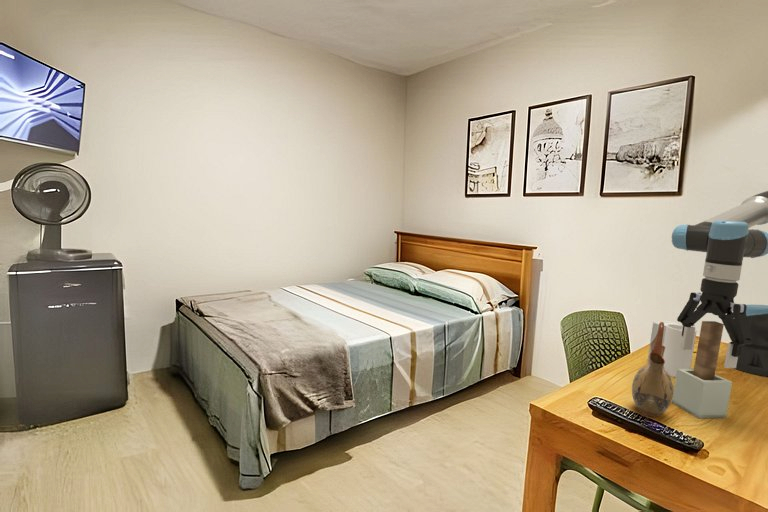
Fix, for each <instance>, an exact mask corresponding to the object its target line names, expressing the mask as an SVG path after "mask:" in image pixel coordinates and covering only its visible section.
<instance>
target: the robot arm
mask: <svg viewBox="0 0 768 512" xmlns="http://www.w3.org/2000/svg"><path fill="white" fill-rule="evenodd" d="M766 224H768V190H766V191H763V192H760V193H757V194H755V195H753V196H750V197H748V198H745V199H744V200H743V201H742V203H740V204H739V205H738V206H737V205H736V207H733V208H730V209H729V210H726V211H724V212H721V213H720V214H717V215H715V216H713V217H710V218H708V219H706V220H703V221H701V222H699V223H697V224H693V225H692V224H688V223H687V224H679V225H677V226H676V227H675V228H674V229H673V230H672V234H671V243H672V245H673V247H674V248H675V249H679V250H685V251H690V252H691V251H692V252H700V253H706V256H705V259H704V260H705V261H704V267H703V274H702V276H703V277H704V278H702V279H701V284H700V289H699V290H700V292H690V294H689V298H688V301H686V304H685V305H684V307H683V309H682V310H681V312H680V314H679V315H678V317H677V318H676V321H677V322H679V323H681V325H683V330H682V336H683V340H682V346H681V349H683V350H692V345H693V339H694V333H695V329H696V327H695V326H696V325H695V324H696V323H697V322H699V320H701V319H702V318H703V317H704V316H706V314H712V315H713V316H717V317H718V318H719V319H720V320H721V321H722V322H721V323H722V324H724V326H723V327H724V329H725V330H726V332H727V335H728V336H729V338H730V341H729V342H728V343H727V347H726V348H727V349H726V353H725V354H726V355H725V358H724V361H723V362H724V363H723V364H724V365H723V368H725V369H736V370H739V371H742V372H746V373H747V374H752V375H757V376H764V377H768V305H767V304H744V303H735V301H734V300H735V299H734V298H735V297H736V296H737V295H738V290H739V289H738V288H739V283H738V281H740V279H741V273H742V266H743V262H744V261H743V260H744V258H751V259H755V258H760V257H764V256H766V255H767V254H768V232H766V231H764V230H760V229H753V228H752V227H755V226H761V225H766ZM750 228H752V229H750Z"/></svg>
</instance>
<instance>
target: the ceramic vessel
mask: <svg viewBox="0 0 768 512" xmlns="http://www.w3.org/2000/svg"><path fill="white" fill-rule="evenodd" d="M659 322H660V323H659V328H658V332H657V335H656V337H655V338H654V340H653V341H652V343H651V353H650V355H649V361H648V362H647V364H646V365H644V366H642V367H641V368H640V369H639V370H638V371H637V372H636V374H635V376H634V378H633V379H632V380H633V381H632V386H631V395H632V399H633V403H634V405H635V406H636V408H637V409H638V411H639V412H640V413H641V414H642V415H644V416H647V417H649V418H650V417H651V418H655V417H659V416H661V415H663V414H664V413H665V412H666V411H667V410H668V408H669V407H670V406H671V403H672V399H673V392H674V385H673V381H672V378H671V376H669V374H668V373H667V372H666V371H665V369H664V364H665V360H664V358H663V355H664V350H665V347H664V346H662V340H663V332H664V323H663V322H664V321H659Z"/></svg>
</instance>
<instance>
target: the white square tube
mask: <svg viewBox="0 0 768 512" xmlns="http://www.w3.org/2000/svg"><path fill="white" fill-rule="evenodd" d="M693 371H694V368H691V369H677V374H676V377H675V380H674V381H675V382H674V385H673V397H672V401H671V403H672V404H674V405H675V406H677V407H679V408H680V409H682V410H684V411H685V412H687V413H689V414H690V415H692V416H693V417H695V418H697V419H725V418H727V415H728V414H727V413H728V408H729V402H730V397H731V392H732V387H733V382H732V381H730V380H729V379H726V378H724V377H722V376H720V375H718V374H716V373H715V377H714V380H703V379H701V378H699V377H696V376H694V375H693Z"/></svg>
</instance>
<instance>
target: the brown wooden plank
mask: <svg viewBox="0 0 768 512" xmlns="http://www.w3.org/2000/svg"><path fill="white" fill-rule="evenodd" d="M724 327H725V326H724V324H723V322H718V321H715V320H714V321H713V320H711V321H710V320H708V321H707V320H701V325H700V331H699V336H698V337H699V338H698V343H697V347H696V348H697V349H696V356H695V361H694V367H693V369H694V371H693V375H694V376H696V377H699V378H701V379H703V380H714V377H715V374H716V372H717V371H716V370H717V365H718V359H719V354H720V353H719V352H720V347H721V341H722V337H723V331H724Z"/></svg>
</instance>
